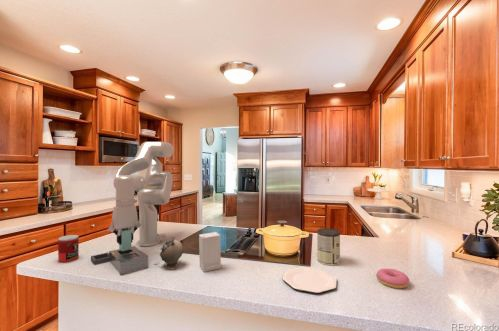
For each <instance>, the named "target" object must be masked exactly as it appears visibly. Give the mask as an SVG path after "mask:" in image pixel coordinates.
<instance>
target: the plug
mask: <svg viewBox="0 0 499 331" xmlns="http://www.w3.org/2000/svg"><path fill="white" fill-rule="evenodd" d="M118 246H119V247H118V249H120V250H121V251H126V250H131V246H132V242H131V229H129V228H124V229H121V245H119V244H118Z"/></svg>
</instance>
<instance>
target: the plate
mask: <svg viewBox="0 0 499 331" xmlns="http://www.w3.org/2000/svg"><path fill="white" fill-rule="evenodd" d="M282 280H283V282H284V283H286V284H287V285H289V286H290V287H291V288H292V289H294V290H297V291H301V292H307V293H311V294H323V293H325V292H329V291H333V290H335V289H336V288H337V281H338V280H337V277H336V276H334V275H332V274H331V273H329V272H327V271H326V270H324V269H320V268H313V267H308V266H300V267H296V268H289V269H286V271H285V273H284V275H283V276H282Z"/></svg>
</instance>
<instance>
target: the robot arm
mask: <svg viewBox="0 0 499 331" xmlns="http://www.w3.org/2000/svg"><path fill="white" fill-rule="evenodd" d="M174 151H175V149H174V146H173V145H172V143H170V142H165V141H143V143H141V145H140V147H139V148H138V150H137V152H136V155H135V156H134V158H133V159H132V160H129V161H128V162H127V163H125V164H123V165H122V166H121V167H120V168H119V169H118V171H117V172H116V174H115V177H114V178H113V187H114V188H115V206H113V209H112V216H111V223H110V225H109V227H108V228H107V231H108V232H110V233H113V234H115V235H116V244H118V246H119V245H121V229H124V228H129V229H131V243H133V241H134V234H135V232H136V231H137V230H138V229H139V235H138V236H139V239H138V240H137V241H136V245H137V246H138V247H152V246H153V247H154V246H156V245H158V244H160V243H161V238H162V239H163V238H166V237H167V235H166V233H158V210H157V208H156V207H155V205H156V206H157V205H167V204H168V203H169V202H170V199H171V195H172V188H173V183H174V182H173V181H174V179H173V178H174V177H173V174H172V172H170V171H164V170H163V163H162V162H161V161H160V160H159V159H158V158H171V157H172V156H173V154H174ZM144 170H146V172H145V175H144V176H142V175H138V174H137V175H132V174H135V173H138V172H142V171H144ZM135 191H136V192H137V191H138V192H137V195H136V198H137V199H135ZM135 203H138V210H139V212H138V210H137V206H136V205H135ZM138 214H139V216H138ZM138 218H139V219H138Z"/></svg>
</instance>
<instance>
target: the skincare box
mask: <svg viewBox="0 0 499 331" xmlns="http://www.w3.org/2000/svg"><path fill="white" fill-rule="evenodd" d="M198 244H199V245H198V247H199V248H198V250H199V251H198V252H199V256H198V257H199V268H200V270H201V272H202V273H206V272H210V271H213V270H218V269H221V268H222V264H221V262H222V260H221V258H222V256H221V235H220V234H219V233H218V232H217V231H213V232H208V233H207V232H206V233H201V234H198Z"/></svg>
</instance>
